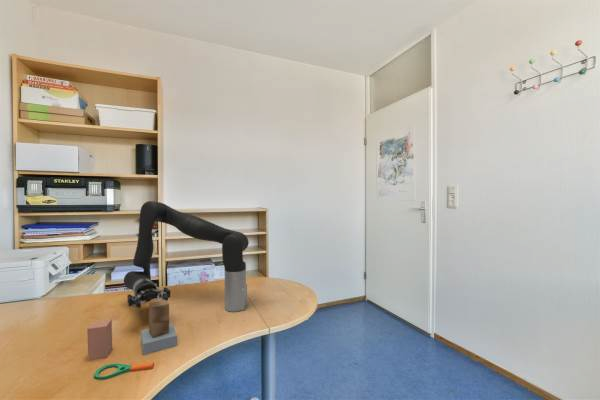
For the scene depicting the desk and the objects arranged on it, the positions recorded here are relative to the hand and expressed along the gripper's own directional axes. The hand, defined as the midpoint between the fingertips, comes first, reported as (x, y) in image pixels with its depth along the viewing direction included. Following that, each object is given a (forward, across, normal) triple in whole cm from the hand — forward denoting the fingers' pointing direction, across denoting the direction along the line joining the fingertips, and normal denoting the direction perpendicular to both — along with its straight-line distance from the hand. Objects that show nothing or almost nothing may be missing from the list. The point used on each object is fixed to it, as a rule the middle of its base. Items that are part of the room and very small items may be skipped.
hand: (153, 302), depth 101 cm
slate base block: (+8, 0, +12) cm, 14 cm away
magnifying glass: (+18, -11, +12) cm, 24 cm away
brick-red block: (+4, -16, +12) cm, 20 cm away
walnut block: (+8, 0, +8) cm, 11 cm away
